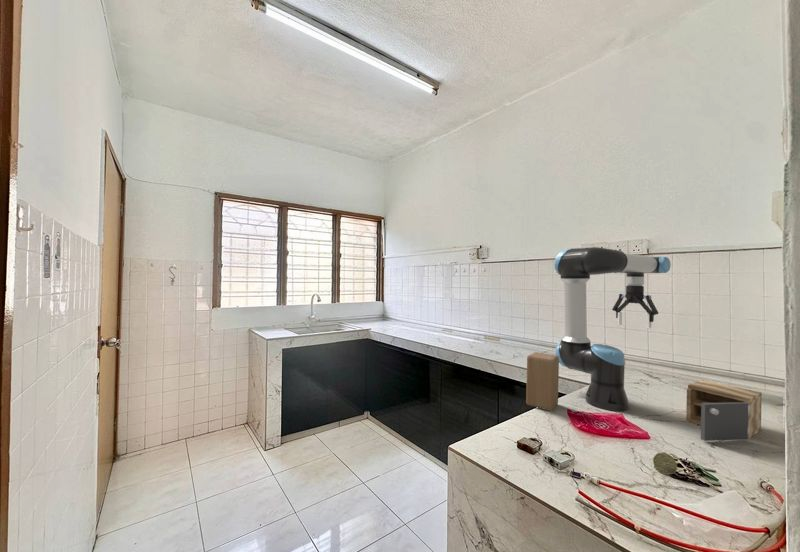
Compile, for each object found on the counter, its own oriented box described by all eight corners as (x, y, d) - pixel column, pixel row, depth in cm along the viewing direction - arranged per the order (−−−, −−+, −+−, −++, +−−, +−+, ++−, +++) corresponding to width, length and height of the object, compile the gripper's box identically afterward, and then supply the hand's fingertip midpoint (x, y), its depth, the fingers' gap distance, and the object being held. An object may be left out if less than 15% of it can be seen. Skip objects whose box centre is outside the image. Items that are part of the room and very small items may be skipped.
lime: (679, 479, 85) (679, 459, 85) (656, 474, 87) (657, 455, 87) (672, 469, 90) (672, 451, 90) (651, 465, 91) (651, 447, 91)
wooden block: (533, 398, 141) (534, 351, 141) (558, 404, 135) (559, 355, 135) (525, 405, 133) (526, 355, 133) (551, 411, 127) (552, 359, 127)
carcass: (747, 439, 108) (748, 399, 108) (686, 420, 122) (686, 385, 122) (760, 430, 115) (761, 392, 115) (701, 413, 129) (702, 379, 129)
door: (756, 441, 105) (756, 405, 105) (709, 443, 103) (710, 406, 103) (745, 437, 108) (746, 402, 108) (700, 438, 106) (701, 402, 106)
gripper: (667, 286, 162) (666, 329, 162) (613, 284, 183) (612, 322, 183) (660, 285, 158) (659, 330, 158) (605, 284, 180) (604, 323, 180)
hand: (633, 326), depth 171 cm, fingers open, 13 cm apart
